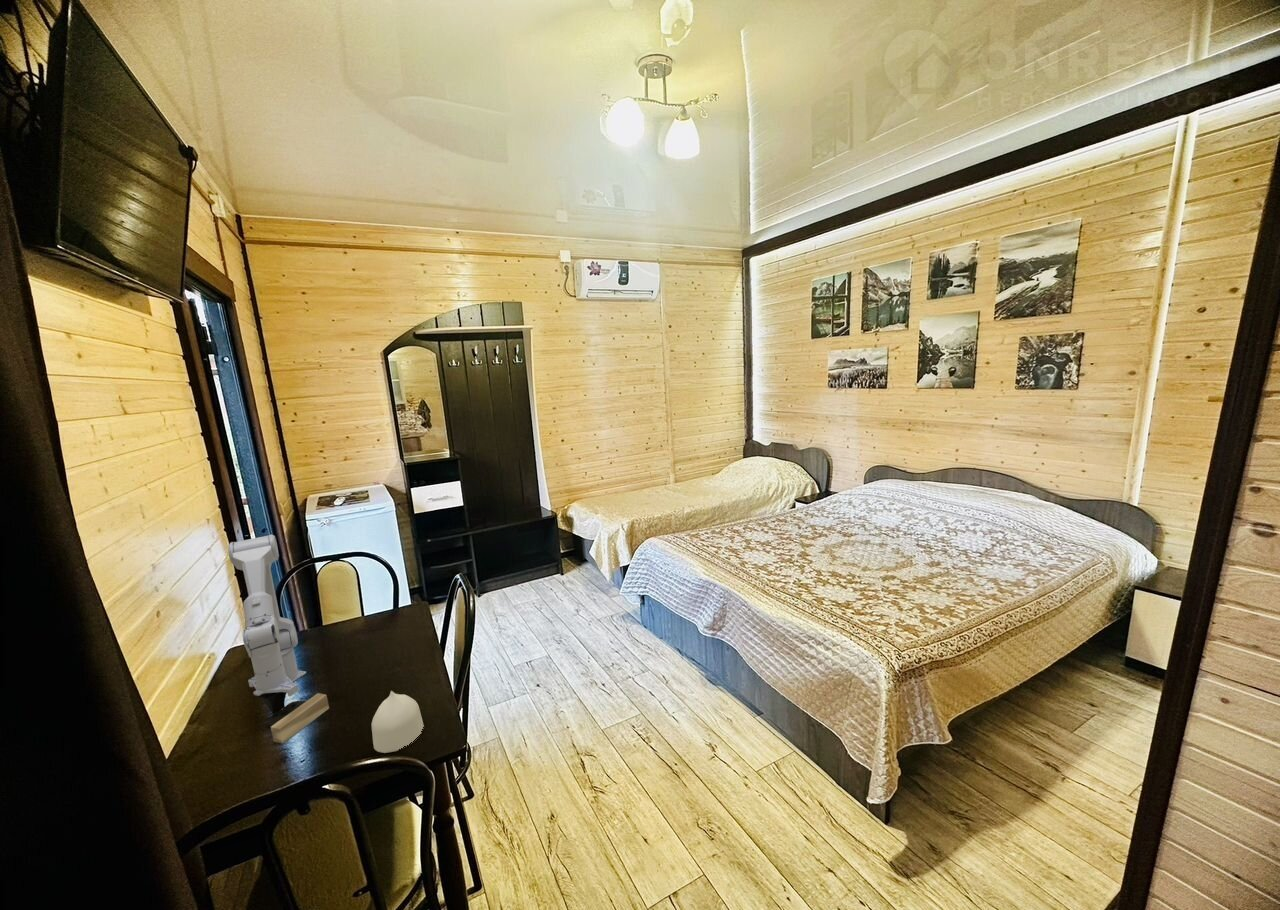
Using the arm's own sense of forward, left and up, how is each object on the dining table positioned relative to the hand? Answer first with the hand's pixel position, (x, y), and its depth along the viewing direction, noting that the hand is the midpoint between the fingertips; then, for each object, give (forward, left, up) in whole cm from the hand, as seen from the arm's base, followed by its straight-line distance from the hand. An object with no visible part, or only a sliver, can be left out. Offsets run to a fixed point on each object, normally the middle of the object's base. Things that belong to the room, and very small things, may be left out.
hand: (279, 713), depth 118 cm
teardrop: (+36, +3, -2) cm, 36 cm away
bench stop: (+8, 0, -1) cm, 8 cm away
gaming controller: (+4, 0, -2) cm, 4 cm away
